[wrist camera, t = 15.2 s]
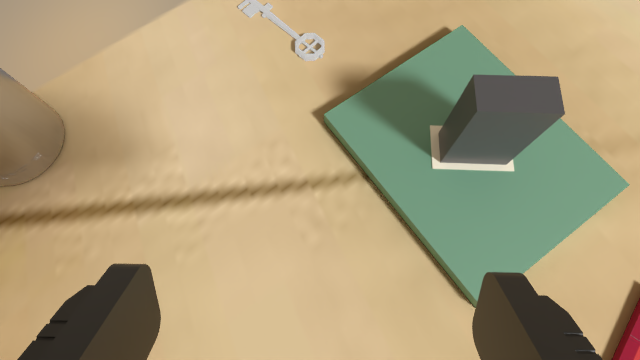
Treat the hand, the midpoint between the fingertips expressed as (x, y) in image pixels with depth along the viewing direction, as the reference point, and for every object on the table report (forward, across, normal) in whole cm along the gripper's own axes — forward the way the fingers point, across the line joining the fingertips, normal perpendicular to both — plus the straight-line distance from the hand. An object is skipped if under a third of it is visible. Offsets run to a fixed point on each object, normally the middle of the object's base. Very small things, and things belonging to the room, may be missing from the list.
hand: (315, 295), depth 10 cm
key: (+40, +5, -2) cm, 40 cm away
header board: (+28, -14, +8) cm, 33 cm away
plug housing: (+27, -14, +7) cm, 31 cm away
